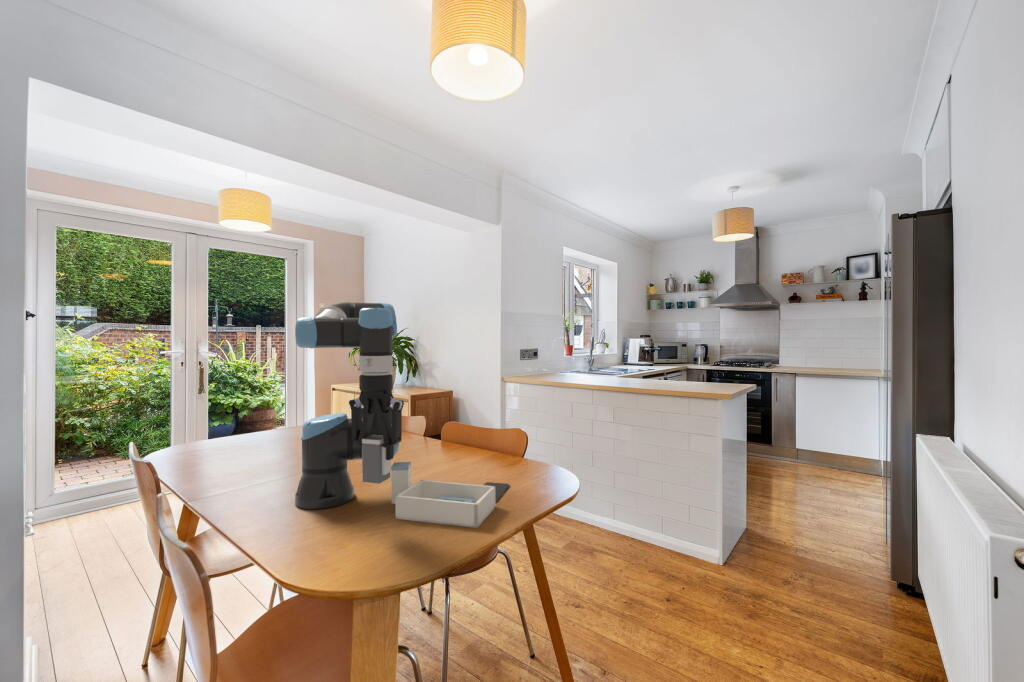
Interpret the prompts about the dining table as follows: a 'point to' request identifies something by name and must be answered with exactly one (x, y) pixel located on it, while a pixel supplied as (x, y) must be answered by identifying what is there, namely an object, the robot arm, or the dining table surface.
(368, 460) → the grey plug
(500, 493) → the smartphone
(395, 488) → the cream plug
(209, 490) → the dining table surface
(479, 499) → the tray box
